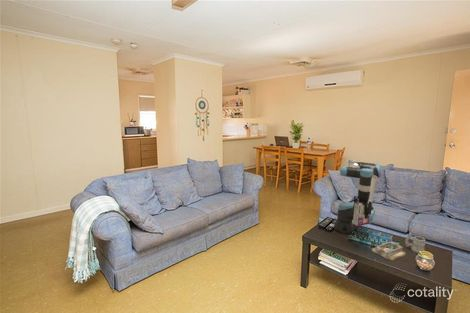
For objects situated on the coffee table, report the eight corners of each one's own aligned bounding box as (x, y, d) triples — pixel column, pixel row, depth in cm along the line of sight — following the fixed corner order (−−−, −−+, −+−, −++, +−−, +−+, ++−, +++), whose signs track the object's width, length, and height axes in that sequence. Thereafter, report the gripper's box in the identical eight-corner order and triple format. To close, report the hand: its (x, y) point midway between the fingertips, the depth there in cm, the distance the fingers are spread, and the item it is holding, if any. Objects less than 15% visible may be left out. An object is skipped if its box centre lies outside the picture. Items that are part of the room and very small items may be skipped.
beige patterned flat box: (371, 250, 174) (372, 244, 174) (385, 245, 182) (386, 239, 181) (391, 261, 162) (392, 255, 161) (405, 254, 170) (406, 249, 169)
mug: (423, 255, 170) (426, 239, 168) (403, 248, 178) (405, 233, 176) (424, 251, 175) (427, 235, 173) (405, 245, 183) (407, 230, 181)
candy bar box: (362, 221, 183) (365, 200, 180) (368, 224, 178) (371, 202, 175) (351, 223, 178) (354, 202, 175) (357, 226, 174) (360, 204, 171)
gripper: (349, 187, 180) (346, 217, 184) (373, 194, 164) (369, 227, 168) (356, 186, 183) (353, 215, 188) (379, 193, 168) (375, 225, 172)
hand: (360, 220), depth 178 cm, fingers closed on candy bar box, 5 cm apart
